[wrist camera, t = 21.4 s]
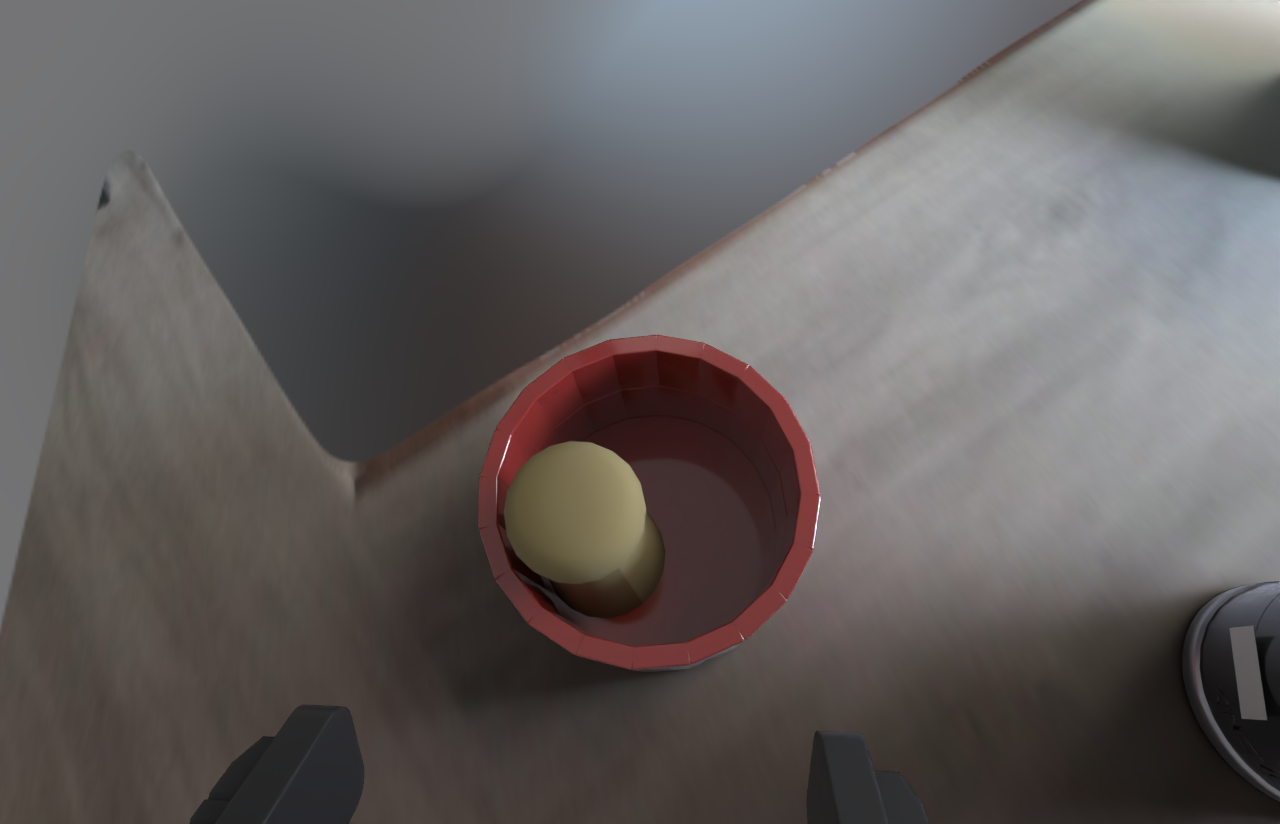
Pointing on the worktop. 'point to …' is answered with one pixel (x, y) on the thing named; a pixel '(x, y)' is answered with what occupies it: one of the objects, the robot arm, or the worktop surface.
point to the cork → (585, 528)
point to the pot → (667, 495)
